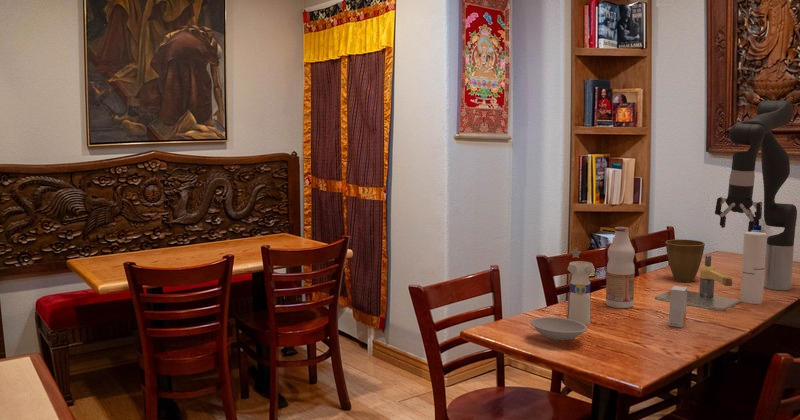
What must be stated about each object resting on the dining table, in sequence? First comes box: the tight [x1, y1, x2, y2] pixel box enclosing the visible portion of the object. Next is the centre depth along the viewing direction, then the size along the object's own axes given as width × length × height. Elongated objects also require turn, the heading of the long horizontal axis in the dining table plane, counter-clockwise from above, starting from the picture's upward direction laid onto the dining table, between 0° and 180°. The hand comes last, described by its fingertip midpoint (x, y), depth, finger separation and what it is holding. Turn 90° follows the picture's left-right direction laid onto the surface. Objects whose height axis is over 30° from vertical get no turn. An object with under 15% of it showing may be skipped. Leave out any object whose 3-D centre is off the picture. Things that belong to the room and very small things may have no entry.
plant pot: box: [665, 238, 706, 283], centre depth 282 cm, size 15×15×16 cm
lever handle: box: [699, 264, 733, 287], centre depth 244 cm, size 19×5×4 cm, turn 179°
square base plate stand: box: [654, 254, 742, 312], centre depth 249 cm, size 17×24×16 cm
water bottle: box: [566, 248, 596, 326], centre depth 223 cm, size 8×9×25 cm
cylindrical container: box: [740, 231, 768, 305], centre depth 247 cm, size 7×7×25 cm
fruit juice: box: [605, 226, 636, 309], centre depth 243 cm, size 9×9×28 cm
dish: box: [529, 316, 588, 342], centre depth 204 cm, size 18×14×5 cm
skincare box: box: [668, 285, 688, 328], centre depth 219 cm, size 6×4×12 cm
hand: (736, 229), depth 235 cm, fingers open, 8 cm apart
